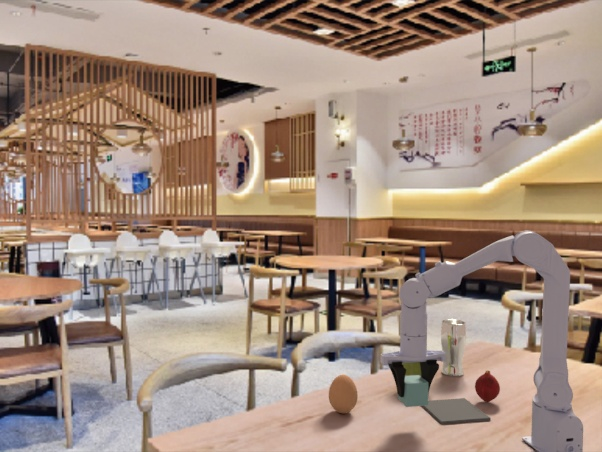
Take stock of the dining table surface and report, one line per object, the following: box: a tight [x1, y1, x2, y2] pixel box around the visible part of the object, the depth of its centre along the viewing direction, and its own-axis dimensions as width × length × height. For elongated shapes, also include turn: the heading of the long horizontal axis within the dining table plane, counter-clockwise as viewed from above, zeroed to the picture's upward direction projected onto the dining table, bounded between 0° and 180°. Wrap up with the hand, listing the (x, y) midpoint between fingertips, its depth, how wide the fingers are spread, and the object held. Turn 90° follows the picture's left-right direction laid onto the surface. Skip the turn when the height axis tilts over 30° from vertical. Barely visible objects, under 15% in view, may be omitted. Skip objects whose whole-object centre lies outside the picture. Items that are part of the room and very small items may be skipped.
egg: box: [328, 374, 358, 415], centre depth 123 cm, size 7×7×9 cm
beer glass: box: [440, 318, 467, 377], centre depth 151 cm, size 7×7×15 cm
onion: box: [474, 369, 501, 403], centre depth 130 cm, size 6×6×8 cm
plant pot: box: [402, 362, 421, 376], centre depth 140 cm, size 9×9×9 cm
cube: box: [397, 375, 429, 408], centre depth 115 cm, size 5×5×5 cm
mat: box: [421, 397, 492, 425], centre depth 124 cm, size 12×12×1 cm
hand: (412, 394), depth 115 cm, fingers closed on cube, 5 cm apart
